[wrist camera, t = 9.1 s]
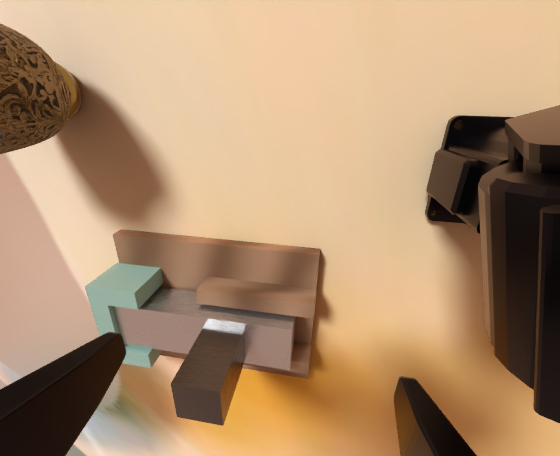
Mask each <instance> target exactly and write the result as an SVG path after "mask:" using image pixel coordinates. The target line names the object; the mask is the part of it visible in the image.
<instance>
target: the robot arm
mask: <svg viewBox="0 0 560 456" xmlns="http://www.w3.org/2000/svg"><path fill="white" fill-rule="evenodd" d="M457 121H460V122H461V125H460V127H459V128H458V129H455V127H454V124H455V123H456V122H457ZM427 192H428V193H429V198H428V202H427V206H426V210H425V214H426V216H427V217H428V218H429V219H430V220H433V221H443V222H456V223H467V224H468V225H469V226H470V227H472V228H473V229H474V230H475V231H476V232H478V233H479V234H480V236H481V257H482V278H483V299H484V320H485V328H486V331H487V334H488V337H489V340H490V343H491V344H492V346H493V347H494V354H495V356H496V357H497V358H498V359H499V361H500V362H501V363H502V364H503V365H504V366H505V367H506V368H507V370H509V371H510V372H511V373H512V374H514V375H515V376H516V377H517V378H519V379H520V380H521V381H522V382H524V383H525V384H526V385H528V386H529V387H530V388H532V389H533V390H534V410H535V412H537V413H538V414H539V415H541V416H543V417H546V418H548V419H551V420H553V421H555V422H558V423H560V105H559V106H555V107H551V108H548V109H544V110H540V111H536V112H532V113H529V114H525V115H521V116H517V117H491V116H454V117H452V118H451V119H450V120H449V121H448V124H447V127H446V131H445V135H444V139H443V143H442V147H441V149H439V150H438V151H437V152H436V153H435V157H434V161H433V165H432V169H431V173H430V177H429V181H428V185H427ZM434 210H437V213H436V214H435V215H431V213H432V211H434ZM125 356H126V348H125V344H124V340H123V337H122V335H121V334H120V333H115V332H107V333H105V334H103V335H101V336H100V337H98V338H96V339H94V340H92V341H90V342H88V343H86V344H85V345H83V346H81V347H79V348H77V349H75V350H73V351H72V352H70V353H68V354H66V355H64V356H62V357H60V358H58V359H57V360H55V361H53V362H51V363H49V364H47V365H45V366H43V367H42V368H40V369H38V370H36V371H34V372H32V373H31V374H28V375H27V376H25V377H23V378H21V379H19V380H17V381H15V382H13V383H12V384H10V385H8V386H6V387H4V388H2V389H1V390H0V456H65V455H66V454H67V452H68V451H69V449H70V448H71V447H72V445H73V443H74V442H75V440H76V439H77V437H78V436H79V434H80V433H81V431H82V430H83V428H84V427H85V425H86V424H87V422H88V421H89V419H90V418H91V416H92V415H93V413H94V412H95V410H96V409H97V407H98V405H99V404H100V402H101V400H102V398H103V397H104V395H105V393H106V391H107V390H108V388H109V386H110V384H111V382H112V381H113V379H114V376H115V375H116V373H117V371H118V370H119V368H120V366H121V364H122V362H123V360H124V358H125ZM394 406H395V414H396V422H397V430H398V439H399V447H400V455H401V456H477V455H476V454H475V453H474V452H473V450H472V449H471V448H470V447H469V445H468V444H467V443H466V442H465V440H464V439H463V438H462V437H461V435H460V434H459V433H458V432H457V430H456V429H455V428H454V427H453V425H452V424H451V423H450V421H449V420H448V419H447V418H446V416H445V415H444V414H443V413H442V411H441V410H440V409H439V408H438V406H437V405H436V404H435V403H434V401H433V400H432V399H431V398H430V396H429V395H428V394H427V393H426V391H425V390H424V389H423V388H422V386H421V385H420V384H419V383H418V381H417V380H416V379H414V378H410V377H404V376H401V377H400V378H399V380H398V384H397V387H396V391H395V394H394Z"/></svg>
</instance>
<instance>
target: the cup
mask: <svg viewBox="0 0 560 456" xmlns="http://www.w3.org/2000/svg"><path fill="white" fill-rule="evenodd" d="M80 105H81V92H80V88H79V86H78V83H77V82H76V80H75V78H74V77H73V76H72V75H71V73H70V72H69V71H67V70H66V69H65V68H64V67H62V66H61V65H59V64H57V63H56V62H54V61H53V60H52V59H51V58H50V56H49V55H48V54H47V53H46V52H45V51H44V50H43V49H42V48H40V47H39V46H38V45H37V44H36V43H34V42H33V41H31V40H30V39H28V38H27V37H26V36H24V35H22V34H20V33H19V32H17V31H15V30H13V29H11V28H9V27H7V26H5V25H3V24H0V154H3V153H7V152H10V151H14V150H18V149H22V148H25V147H28V146H32V145H35V144H37V143H40V142H43V141H45V140H47V139H49V138H51V137H52V136H54V135H55V134H56V133H57V132H59V131H60V130H61V128H62V127H63V126H64V124H65V122H66V121H67V119H68V118H70V117H72V116H73V115H74V114H76V113H77V111H78V110H79V108H80Z"/></svg>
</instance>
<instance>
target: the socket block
mask: <svg viewBox="0 0 560 456" xmlns="http://www.w3.org/2000/svg"><path fill="white" fill-rule="evenodd" d="M162 284H163V278H162V272H161V268H158V267H149V266H140V265H132V264H123V263H116V264H115V265H114V266H112V267H111V268H110V269H108V270H107V271H106V272H104V273H103V274H101V275H100V276H99V277H97V278H96V279H95V280H93V281H92V282H91V283H89V284H88V285H87V286H85V289H86V292H87V295H88V299H89V302H90V305H91V308H92V312H93V315H94V318H95V321H96V325H97V328H98V331H99V334H100V336H101V335H103V334H105V333H107V332H115V333H120V331H119V327H118V323H117V320H116V316H115V312H114V308H113V306H115V307H122V308H129V309H137V310H138V309H139V308H140V307H141V306H142V305H143V304H144V303H145V302H146V301H147V300H148V299H149V297H150V296H151V295H152V294H153V293H154V292H155V291H156V290H157V289H158V288H159V287H160V286H161V285H162ZM125 348H126V356H125V358H124V360H123V362H122V363H124V364H130V365H136V366H142V367H148V368H151V367H152V366H153V364H154V363H155V361H156V360H157V359H158V357H159V356H160V354H161V353H162V351H163V350H158V349H152V348H145V347H139V346H133V345H126V344H125Z"/></svg>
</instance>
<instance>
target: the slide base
mask: <svg viewBox="0 0 560 456" xmlns="http://www.w3.org/2000/svg"><path fill="white" fill-rule="evenodd" d="M113 238H114V242H115V246H116V251H117V255H118V259H119V263H123V264H132V265H140V266H149V267H158V268H161V272H162V278H163V284H162V285H161V286H160V288H168V289H176V290H184V291H192V292H196V295H197V303H198V304H205V305H213V306H220V307H228V308H236V309H243V310H251V311H259V312H266V313H274V314H281V315H289V316H296V318H295V334H294V346H293V352H292V359H291V366H290V370H285V369H279V368H272V367H266V366H260V365H253V364H247V363H244V364H243V367H242V368H245V369H251V370H258V371H264V372H270V373H276V374H282V375H289V376H295V377H301V378H307V379H308V375H309V365H310V352H311V340H312V329H313V319H314V314H315V303H316V288H317V278H318V267H319V257H320V249H315V248H304V247H294V246H284V245H274V244H263V243H253V242H243V241H233V240H222V239H212V238H202V237H191V236H181V235H171V234H161V233H150V232H140V231H130V230H120V231H118V232H116V233H114V234H113ZM160 355H164V356H170V357H176V358H183V359H185V358H186V356H187V355H188V354H184V353H177V352H171V351H165V350H163V351H162V353H161V354H160Z"/></svg>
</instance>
